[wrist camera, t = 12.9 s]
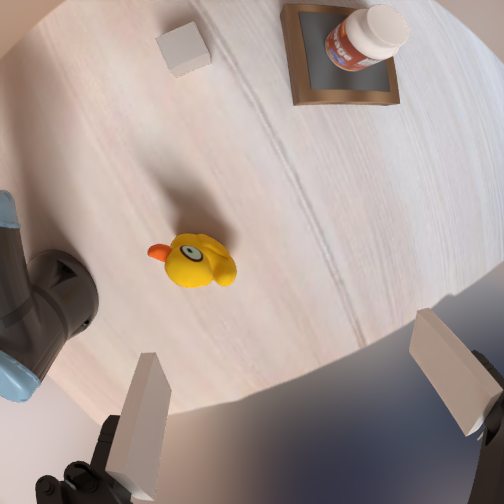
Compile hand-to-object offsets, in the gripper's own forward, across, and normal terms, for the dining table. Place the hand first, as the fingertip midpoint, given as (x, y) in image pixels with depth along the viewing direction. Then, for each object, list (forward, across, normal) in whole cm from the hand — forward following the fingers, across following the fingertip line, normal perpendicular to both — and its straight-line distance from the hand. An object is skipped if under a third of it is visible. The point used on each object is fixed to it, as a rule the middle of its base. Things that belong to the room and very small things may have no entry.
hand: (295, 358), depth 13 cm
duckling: (+29, -8, -4) cm, 30 cm away
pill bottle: (+25, +14, +21) cm, 35 cm away
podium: (+29, +14, +21) cm, 38 cm away
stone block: (+29, -6, +23) cm, 37 cm away
